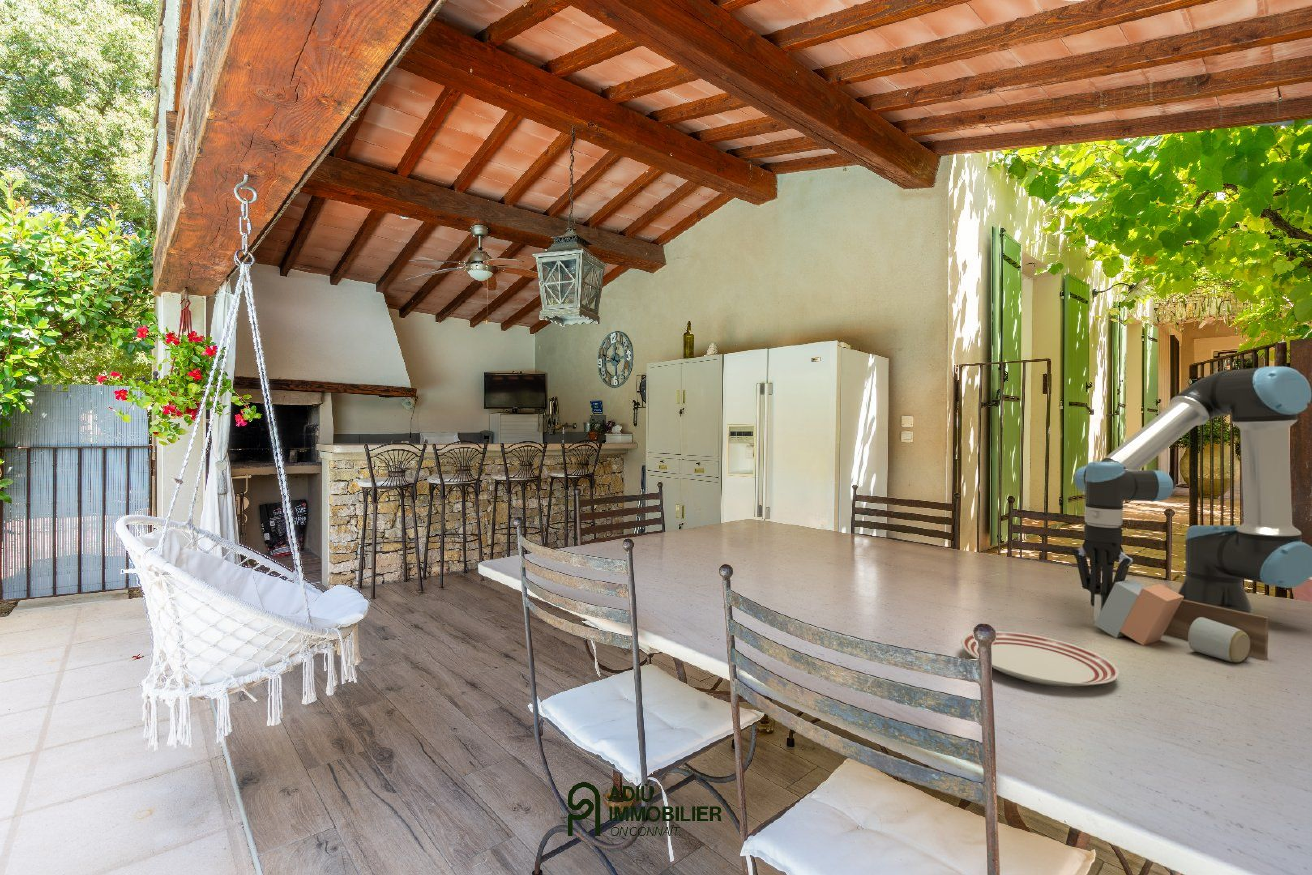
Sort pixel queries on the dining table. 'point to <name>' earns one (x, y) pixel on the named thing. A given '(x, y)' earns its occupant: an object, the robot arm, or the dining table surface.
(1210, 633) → the ceramic mug
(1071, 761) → the dining table surface
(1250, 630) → the brown wooden board
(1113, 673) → the dinner plate
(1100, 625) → the light grey rectangular block
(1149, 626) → the tan rectangular block
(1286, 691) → the dining table surface
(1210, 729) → the dining table surface
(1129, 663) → the dining table surface
